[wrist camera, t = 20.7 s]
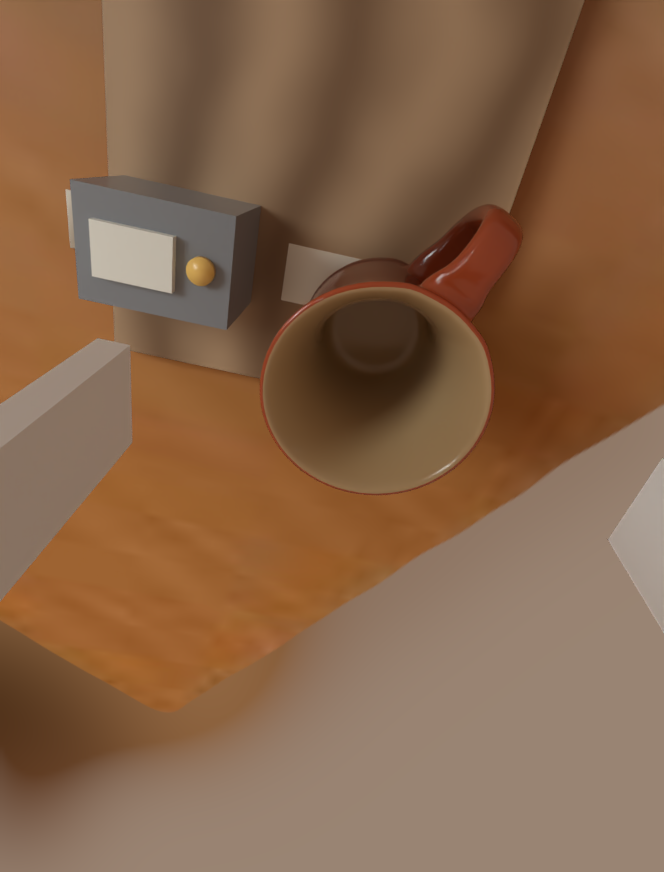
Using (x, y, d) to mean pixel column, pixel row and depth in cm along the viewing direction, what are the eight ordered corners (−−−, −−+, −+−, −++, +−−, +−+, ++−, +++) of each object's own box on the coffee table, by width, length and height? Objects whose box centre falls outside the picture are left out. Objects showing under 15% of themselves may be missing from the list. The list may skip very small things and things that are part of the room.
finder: (126, 275, 27) (74, 300, 22) (124, 175, 24) (64, 179, 20) (250, 302, 27) (224, 332, 22) (261, 205, 24) (233, 217, 20)
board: (77, 330, 30) (66, 337, 29) (14, -481, 16) (-13, -529, 15) (435, 407, 31) (437, 417, 30) (683, -307, 16) (705, -340, 15)
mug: (387, 418, 30) (391, 529, 21) (268, 335, 28) (217, 420, 19) (537, 254, 24) (626, 309, 16) (403, 136, 22) (419, 124, 14)
